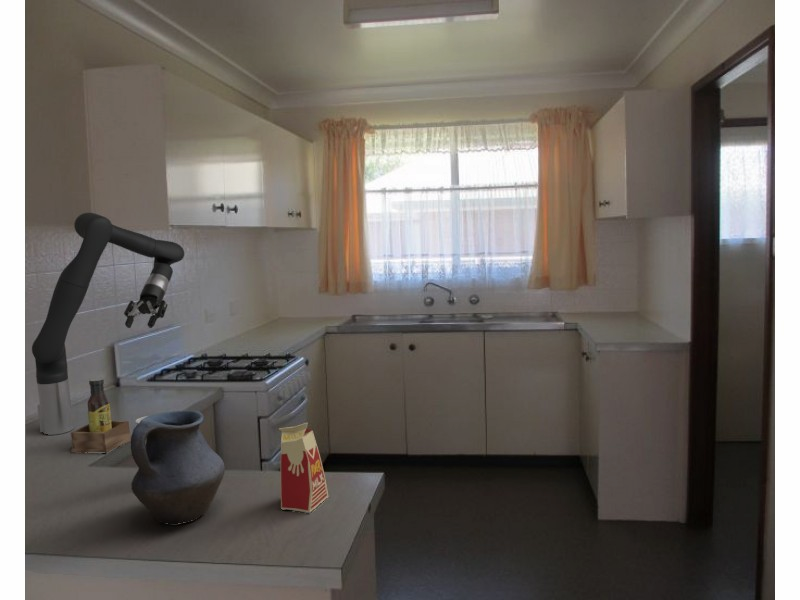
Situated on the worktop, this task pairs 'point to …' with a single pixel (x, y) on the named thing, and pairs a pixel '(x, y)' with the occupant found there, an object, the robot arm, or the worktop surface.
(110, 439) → the open wooden box
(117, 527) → the worktop surface
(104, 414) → the sauce bottle
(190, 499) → the pitcher
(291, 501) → the milk carton
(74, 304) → the robot arm
